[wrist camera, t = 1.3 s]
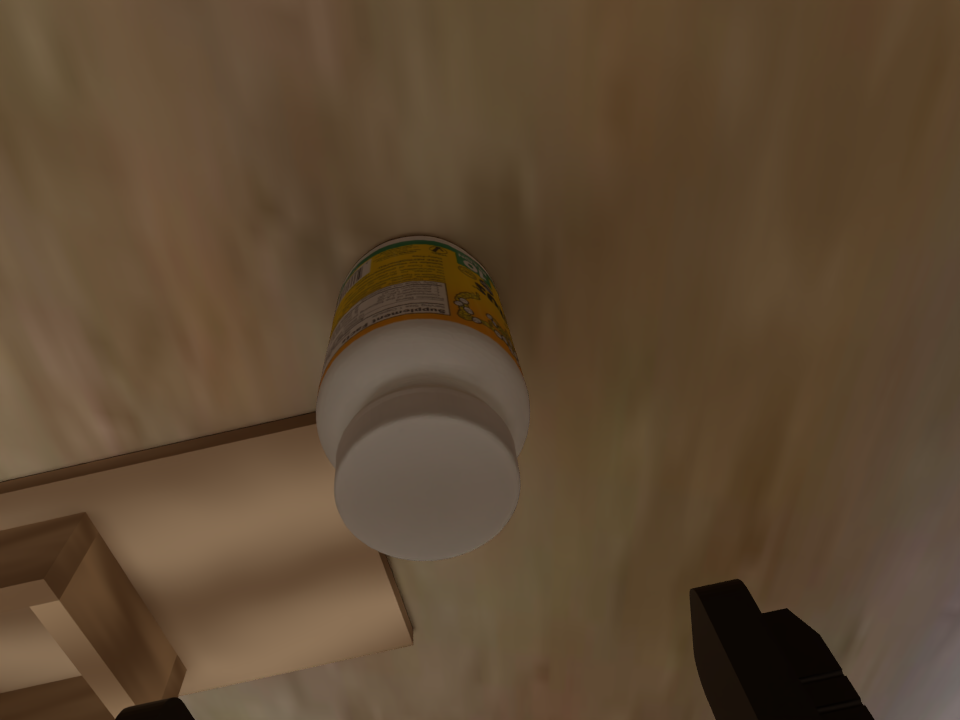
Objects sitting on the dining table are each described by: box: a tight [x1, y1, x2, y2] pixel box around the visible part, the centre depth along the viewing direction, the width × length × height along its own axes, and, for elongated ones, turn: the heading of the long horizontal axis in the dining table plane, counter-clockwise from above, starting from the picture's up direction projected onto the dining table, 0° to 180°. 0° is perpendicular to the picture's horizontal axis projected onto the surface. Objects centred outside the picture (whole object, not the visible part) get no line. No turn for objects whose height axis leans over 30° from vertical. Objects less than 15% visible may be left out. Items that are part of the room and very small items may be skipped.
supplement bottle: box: [316, 236, 530, 561], centre depth 18 cm, size 5×5×10 cm
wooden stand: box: [0, 412, 413, 720], centre depth 25 cm, size 12×20×4 cm, turn 102°
